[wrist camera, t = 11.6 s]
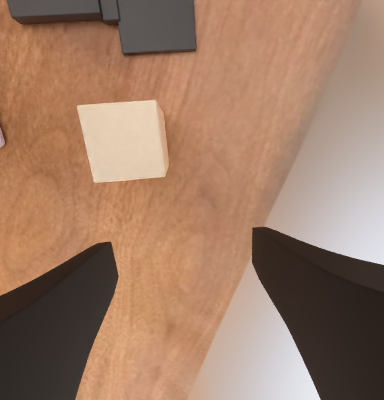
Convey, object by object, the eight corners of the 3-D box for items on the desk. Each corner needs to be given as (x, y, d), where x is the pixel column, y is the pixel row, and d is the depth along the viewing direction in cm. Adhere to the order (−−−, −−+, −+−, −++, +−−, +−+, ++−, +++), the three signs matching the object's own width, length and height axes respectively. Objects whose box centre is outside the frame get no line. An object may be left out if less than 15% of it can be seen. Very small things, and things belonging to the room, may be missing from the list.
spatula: (30, 61, 15) (22, 56, 14) (3, -43, 14) (-9, -55, 13) (195, 50, 16) (196, 45, 15) (189, -50, 14) (190, -63, 13)
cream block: (120, 169, 18) (93, 183, 12) (110, 116, 17) (75, 104, 11) (169, 165, 18) (165, 177, 12) (163, 112, 17) (156, 99, 11)
